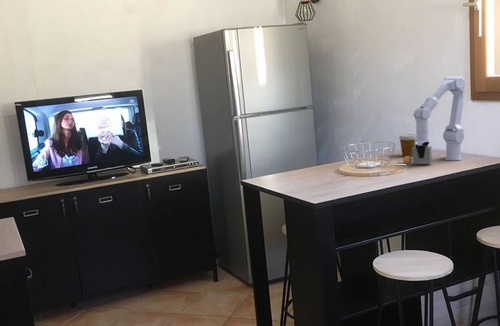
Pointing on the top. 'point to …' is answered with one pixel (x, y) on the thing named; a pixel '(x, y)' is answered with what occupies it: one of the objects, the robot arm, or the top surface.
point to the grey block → (427, 155)
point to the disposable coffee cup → (407, 144)
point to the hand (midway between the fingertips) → (422, 156)
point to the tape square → (404, 163)
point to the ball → (407, 160)
